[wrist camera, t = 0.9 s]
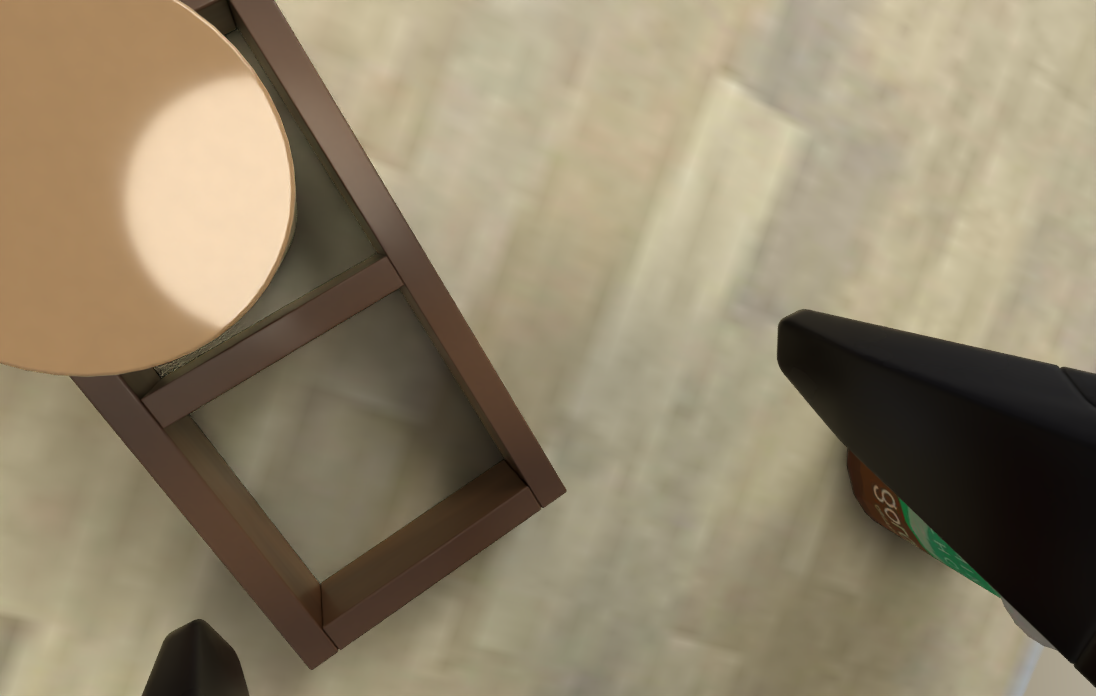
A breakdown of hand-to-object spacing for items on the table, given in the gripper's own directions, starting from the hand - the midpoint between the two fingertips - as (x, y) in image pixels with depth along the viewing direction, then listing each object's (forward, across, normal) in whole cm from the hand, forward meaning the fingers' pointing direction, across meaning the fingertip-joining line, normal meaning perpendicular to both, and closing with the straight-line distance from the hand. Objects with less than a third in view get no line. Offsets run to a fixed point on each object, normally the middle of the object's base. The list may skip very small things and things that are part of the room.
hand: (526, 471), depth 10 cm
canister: (+16, +4, +1) cm, 16 cm away
